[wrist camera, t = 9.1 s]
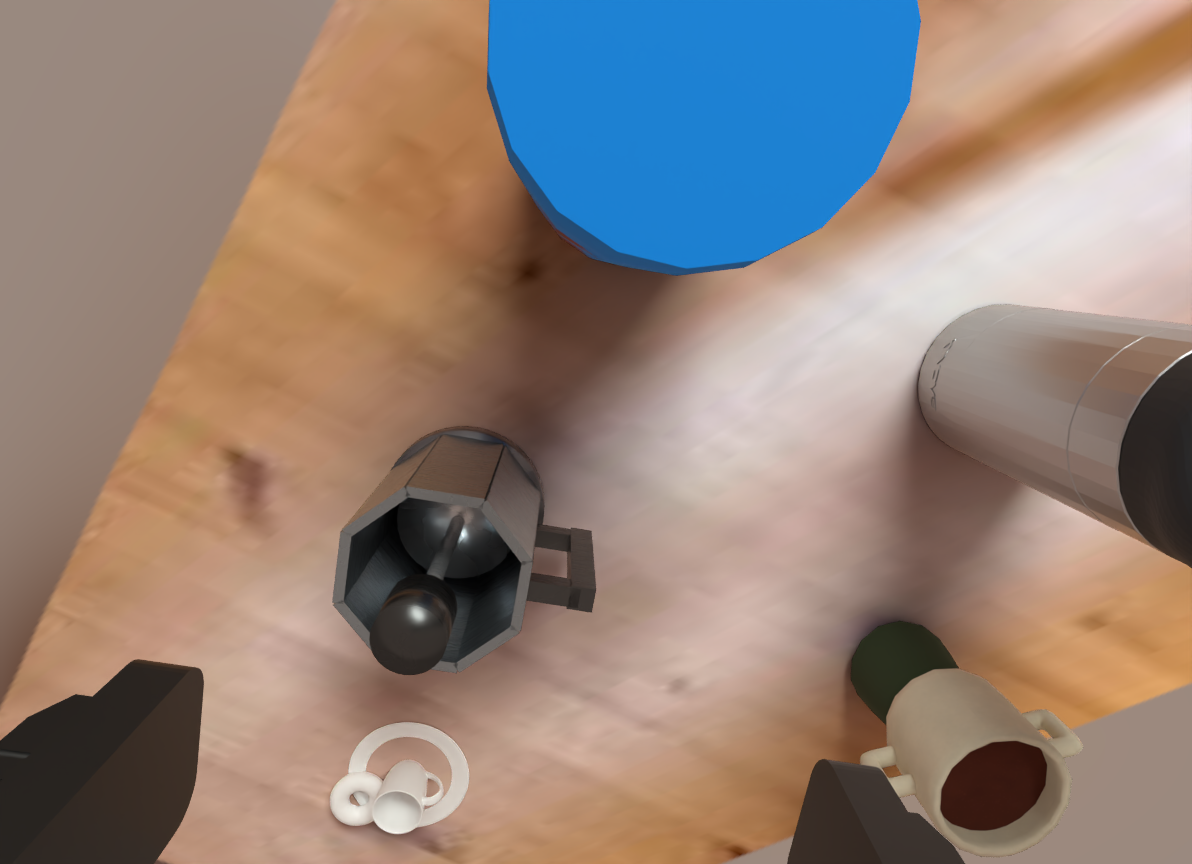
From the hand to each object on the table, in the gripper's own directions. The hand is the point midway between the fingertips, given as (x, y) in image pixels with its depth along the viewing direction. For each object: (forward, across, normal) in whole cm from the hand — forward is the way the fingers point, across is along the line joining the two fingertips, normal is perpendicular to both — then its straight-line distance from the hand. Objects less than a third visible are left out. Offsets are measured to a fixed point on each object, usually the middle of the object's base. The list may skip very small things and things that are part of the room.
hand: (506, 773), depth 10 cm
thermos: (+36, -2, -12) cm, 38 cm away
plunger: (+33, +4, +9) cm, 35 cm away
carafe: (+36, +3, +9) cm, 37 cm away
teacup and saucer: (+37, +8, +27) cm, 46 cm away
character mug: (+36, -25, +15) cm, 47 cm away
